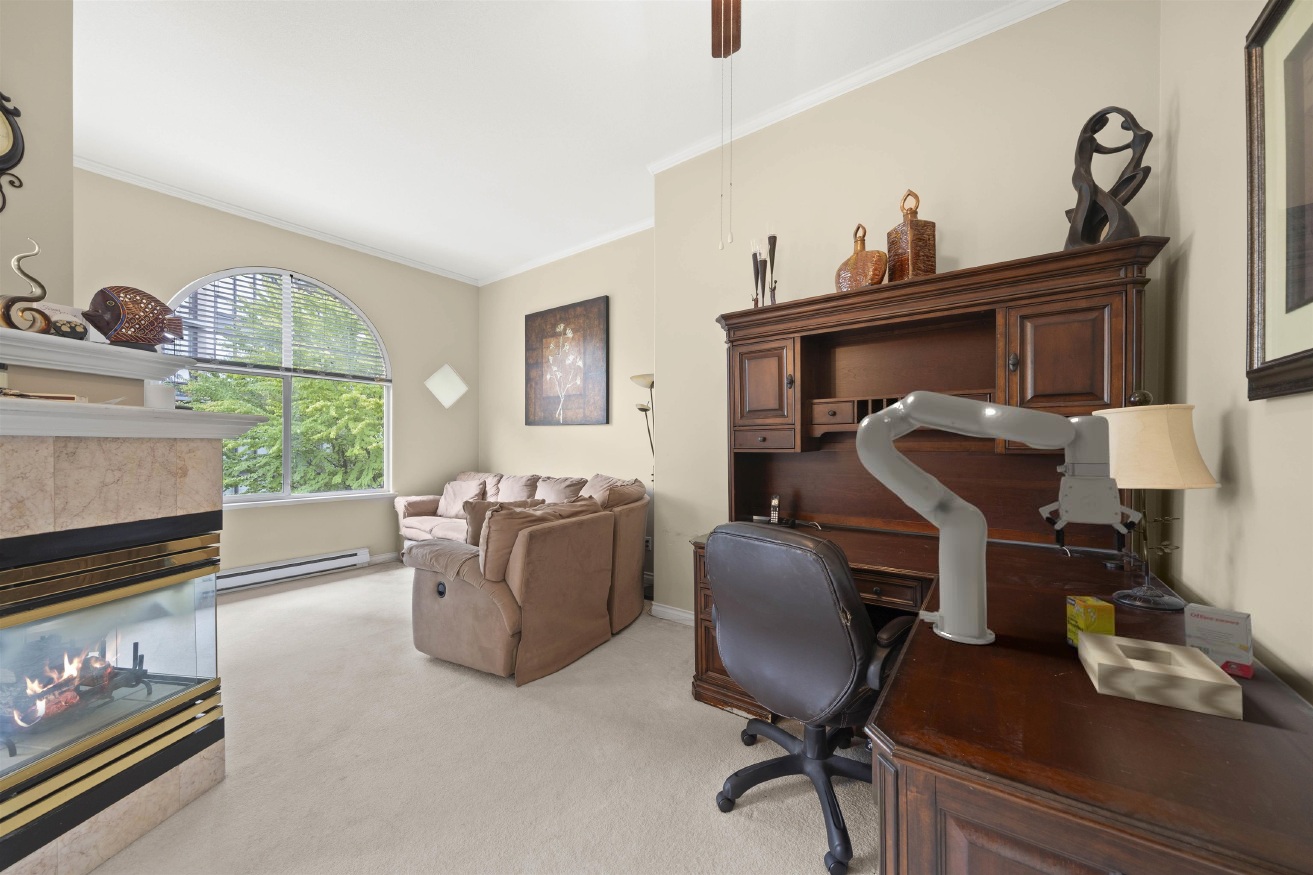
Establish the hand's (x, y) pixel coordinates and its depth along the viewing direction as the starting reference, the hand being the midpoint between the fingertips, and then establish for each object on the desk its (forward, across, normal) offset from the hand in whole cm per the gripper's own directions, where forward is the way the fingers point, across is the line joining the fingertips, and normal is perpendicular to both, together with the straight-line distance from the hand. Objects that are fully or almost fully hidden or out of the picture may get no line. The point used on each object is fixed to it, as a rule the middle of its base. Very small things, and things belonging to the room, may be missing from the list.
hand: (1089, 548), depth 110 cm
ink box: (+23, +20, +1) cm, 30 cm away
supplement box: (+22, 0, 0) cm, 23 cm away
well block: (+22, +6, -15) cm, 28 cm away
